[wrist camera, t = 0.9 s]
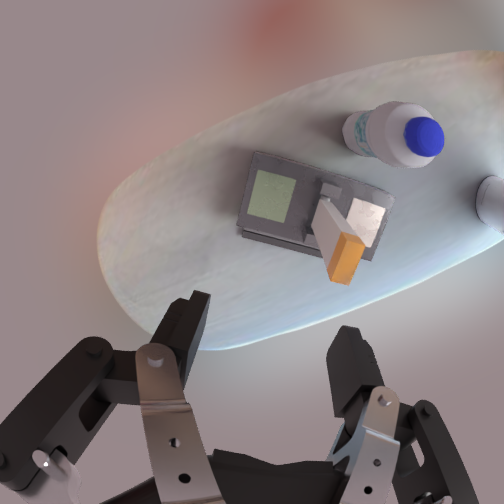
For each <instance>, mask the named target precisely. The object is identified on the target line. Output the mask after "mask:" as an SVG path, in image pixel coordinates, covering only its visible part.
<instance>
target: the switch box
mask: <svg viewBox="0 0 504 504" xmlns="http://www.w3.org/2000/svg"><path fill="white" fill-rule="evenodd" d="M321 195H325V196H328V197H330V201H329V202H332V203H333V205H334V206H335V207H336V208H337V210H338V211H339V212H340V213H341V215H342V216H343V217H344V218H345V220H346V221H347V222H348V224H349V225H350V226H351V227H352V229H353V230H354V231H355V233H356V234H357V235H358V236H359V237H360V239H361V240H362V241H363V243H364V244H365V249H364V251H363V254H362V256H361V259H365V260H368V261H371V260H372V257H373V255H374V253H375V250H376V248H377V246H378V243H379V241H380V238H381V236H382V233H383V231H384V228H385V225H386V223H387V220H388V217H389V215H390V212H391V209H392V207H393V204H394V201H395V198H396V197H394V196H392V195H391V194H389V193H387V192H386V191H383V190H381V189H378V188H375V187H373V186H370V185H367V184H364V183H362V182H359V181H356V180H353V179H350V178H347V177H344V176H341V175H338V174H335V173H332V172H329V171H326V170H323V169H320V168H316V167H313V166H310V165H306V164H303V163H299V162H296V161H292V160H289V159H285V158H281V157H278V156H274V155H270V154H266V153H262V152H258V151H256V152H254V155H253V159H252V163H251V167H250V171H249V175H248V179H247V183H246V187H245V192H244V196H243V200H242V204H241V208H240V212H239V217H238V221H237V225H238V226H242V227H245V228H249V229H253V230H257V231H261V232H265V233H269V234H273V235H277V236H280V237H284V238H288V239H292V240H295V241H299V242H303V243H304V244H306V245H310V246H314V247H317V248H319V245H318V243H317V240H316V237H315V234H314V232H313V229H312V228H311V224H312V221H313V218H314V215H315V212H316V209H317V206H318V203H319V199H320V198H321Z"/></svg>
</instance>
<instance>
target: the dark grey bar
mask: <svg viewBox="0 0 504 504" xmlns="http://www.w3.org/2000/svg"><path fill="white" fill-rule="evenodd" d="M242 237H244V238H248V239H252V240H255V241H259V242H263V243H267V244H271V245H275V246H279V247H283V248H286V249H290V250H294V251H298V252H302V253H306V254H309V255H313V256H317V257H321V258H323V257H322V254H321V251H320V248H317V247H314V246H310V245H306V244H304V243H303V242H299V241H295V240H292V239H288V238H284V237H280V236H277V235H273V234H269V233H265V232H261V231H257V230H253V229H249V228H245V227H244V231H243V234H242Z"/></svg>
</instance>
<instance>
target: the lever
mask: <svg viewBox="0 0 504 504" xmlns="http://www.w3.org/2000/svg"><path fill="white" fill-rule="evenodd" d="M329 201H330V197H328V196H325V195H321V198H320V199H319V203H318V206H317V209H316V212H315V215H314V218H313V221H312V224H311V228H312V229H313V232H314V234H315V237H316V240H317V243H318V245H319V248H320V251H321V254H322V257H323V259H324V262H325V265H326V268H327V272H328V275H329V278H330V281H332V282H336V283H340V284H344V285H348V286H349V284H350V282H351V279H352V277H353V275H354V272H355V270H356V268H357V266H358V263H359V261H360V258H361V256H362V254H363V251H364V249H365V244H364V243H363V241H362V240H361V239H360V237H359V236H358V235H357V234H356V233H355V231H354V230H353V229H352V227H351V226H350V225H349V224H348V222H347V221H346V220H345V218H344V217H343V216H342V215H341V213H340V212H339V211H338V210H337V208H336V207H335V206H334V205H333V203H332V202H329Z"/></svg>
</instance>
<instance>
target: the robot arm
mask: <svg viewBox="0 0 504 504" xmlns="http://www.w3.org/2000/svg"><path fill="white" fill-rule="evenodd" d="M476 209H477V214H478V216H479V218H480V220H481V221H482V222H484V223H485V224H487V225H489V226H490V227H492V228H494V229H495V230H497V231H498V232H500V233H501V234H503V235H504V179H501V178H498V177H495V176H489V177H487V178H486V179H484V181H483V182H482V183H481V185H480V187H479V189H478V192H477V197H476ZM210 297H211V294H208V293H204V292H200V291H197V290H194V291H193V293H192V295H191V297H190V299H189V300H186V299H182V298H179V299H177V300H176V301H174V302H172V303H171V305H170V307H169V308H168V310H167V313H166V314H165V315H164V317H163V319H162V321H161V323H160V324H159V326H158V328H157V330H156V332H155V333H154V335H153V337H152V339H151V341H150V343H148V344H145V345H143V346H141V347H140V348H139V349H138V350H137V351H120V350H113V348H112V346H111V344H110V343H109V342H108V341H107V340H105V339H103V338H101V337H87V338H84V339H83V340H81V341H80V342H79V343H78V344H77V345H76V346H75V347H74V348H73V349H72V350H70V352H69V353H67V354H66V355H65V356H64V357H63V359H61V360H60V362H58V364H56V365H55V366H54V367H53V368H52V369H51V370H50V371H49V373H47V375H46V376H45V377H44V378H43V379H42V380H41V381H40V382H39V383H38V384H37V385H36V386H35V387H34V388H33V389H32V390H31V391H30V392H29V393H28V394H27V395H26V397H25V398H24V399H23V400H22V401H21V402H20V403H19V404H18V405H17V406H16V407H15V409H14V410H13V411H12V412H11V413H10V414H9V415H8V416H7V417H6V419H5V420H4V421H3V422H2V423H1V424H0V483H1V484H3V485H4V486H5V487H6V488H8V489H9V490H11V491H13V492H15V493H16V494H18V495H19V496H20V497H21V498H23V499H24V500H25V501H26V502H27V503H28V504H80V502H79V499H78V492H79V489H80V487H81V476H80V473H79V472H78V470H77V469H76V467H74V465H75V463H76V462H77V461H78V459H79V457H80V456H81V455H82V453H83V452H84V450H85V449H86V448H87V446H88V445H89V443H90V442H91V440H92V439H93V438H94V436H95V435H96V433H97V432H98V431H99V429H100V428H101V426H102V425H103V423H104V422H105V420H106V419H107V418H108V416H109V415H110V414H111V412H112V411H113V409H114V408H115V406H116V405H117V404H118V403H120V404H130V405H140V406H141V413H142V420H143V426H144V431H145V437H146V442H147V448H148V452H149V457H150V462H151V466H152V470H153V475H154V476H153V477H151V478H149V479H148V480H146V481H144V482H142V483H140V484H139V485H137V486H135V487H133V488H131V489H129V490H127V491H125V492H123V493H121V494H119V495H117V496H115V497H113V498H111V499H109V500H106V501H104V502H102V503H100V504H385V502H386V499H387V496H388V492H389V489H390V486H391V482H392V484H393V487H394V490H395V493H396V496H397V500H398V503H399V504H479V502H478V499H477V496H476V494H475V491H474V489H473V486H472V483H471V481H470V479H469V476H468V474H467V471H466V469H465V467H464V464H463V462H462V460H461V458H460V455H459V453H458V451H457V449H456V447H455V444H454V442H453V440H452V438H451V436H450V434H449V432H448V430H447V428H446V426H445V424H444V422H443V420H442V418H441V416H440V414H439V412H438V410H437V409H436V407H435V406H434V405H433V404H432V403H431V402H429V401H427V400H420V401H418V402H417V403H416V404H415V405H414V406H410V405H406V404H404V403H400V401H399V398H398V396H397V394H396V393H395V392H394V391H393V390H391V389H390V388H388V387H385V385H384V382H383V379H382V376H381V373H380V370H379V367H378V365H377V361H376V359H375V355H374V353H373V350H372V348H371V346H370V345H369V344H368V342H367V341H366V340H363V339H362V336H361V333H360V330H359V329H358V328H355V327H350V326H342V327H341V328H340V329H339V331H338V333H337V335H336V337H335V339H334V340H333V342H332V344H331V346H330V348H329V349H328V352H327V357H326V362H327V368H328V375H329V381H330V387H331V394H332V401H333V408H334V415H335V417H338V418H344V420H345V422H344V423H343V424H342V425H341V427H340V429H339V432H338V434H337V436H336V439H335V441H334V443H333V446H332V448H331V450H330V452H329V454H328V456H327V458H326V460H325V461H302V462H297V463H290V464H284V465H274V464H270V463H267V462H265V461H261V460H259V459H256V458H253V457H251V456H248V455H245V454H239V453H234V452H228V451H223V450H218V449H214V451H213V454H212V455H206V452H205V449H204V446H203V443H202V440H201V437H200V434H199V431H198V427H197V424H196V421H195V417H194V414H193V411H192V408H191V406H190V404H189V403H187V402H186V400H185V396H184V392H183V390H184V388H185V385H186V381H187V379H188V376H189V372H190V369H191V366H192V364H193V361H194V358H195V355H196V352H197V349H198V346H199V343H200V340H201V337H202V334H203V331H204V327H205V323H206V318H207V313H208V308H209V303H210ZM416 440H417V441H418V443H419V445H420V448H421V450H422V452H423V455H424V464H423V465H422V466H421V467H420V466H419V464H418V461H417V459H416V456H415V453H414V451H413V448H412V446H411V444H412V443H413V442H414V441H416Z"/></svg>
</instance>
